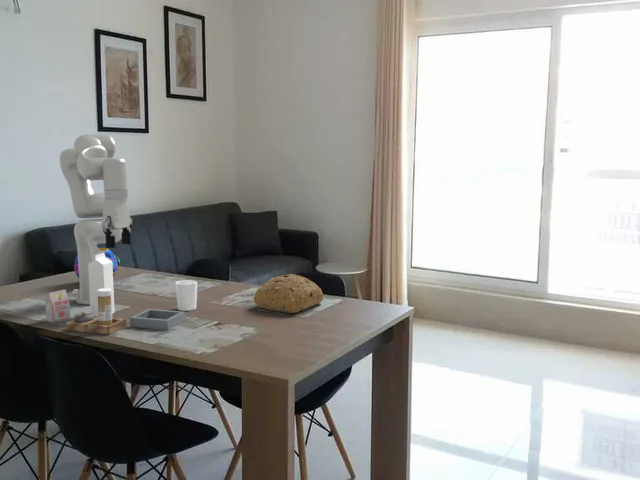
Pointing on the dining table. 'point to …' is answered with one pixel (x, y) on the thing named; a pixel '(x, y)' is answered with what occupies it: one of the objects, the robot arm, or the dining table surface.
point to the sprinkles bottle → (104, 306)
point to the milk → (100, 280)
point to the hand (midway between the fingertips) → (118, 245)
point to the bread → (288, 294)
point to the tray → (157, 319)
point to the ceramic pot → (108, 255)
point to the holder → (94, 324)
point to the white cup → (186, 294)
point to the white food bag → (57, 306)
